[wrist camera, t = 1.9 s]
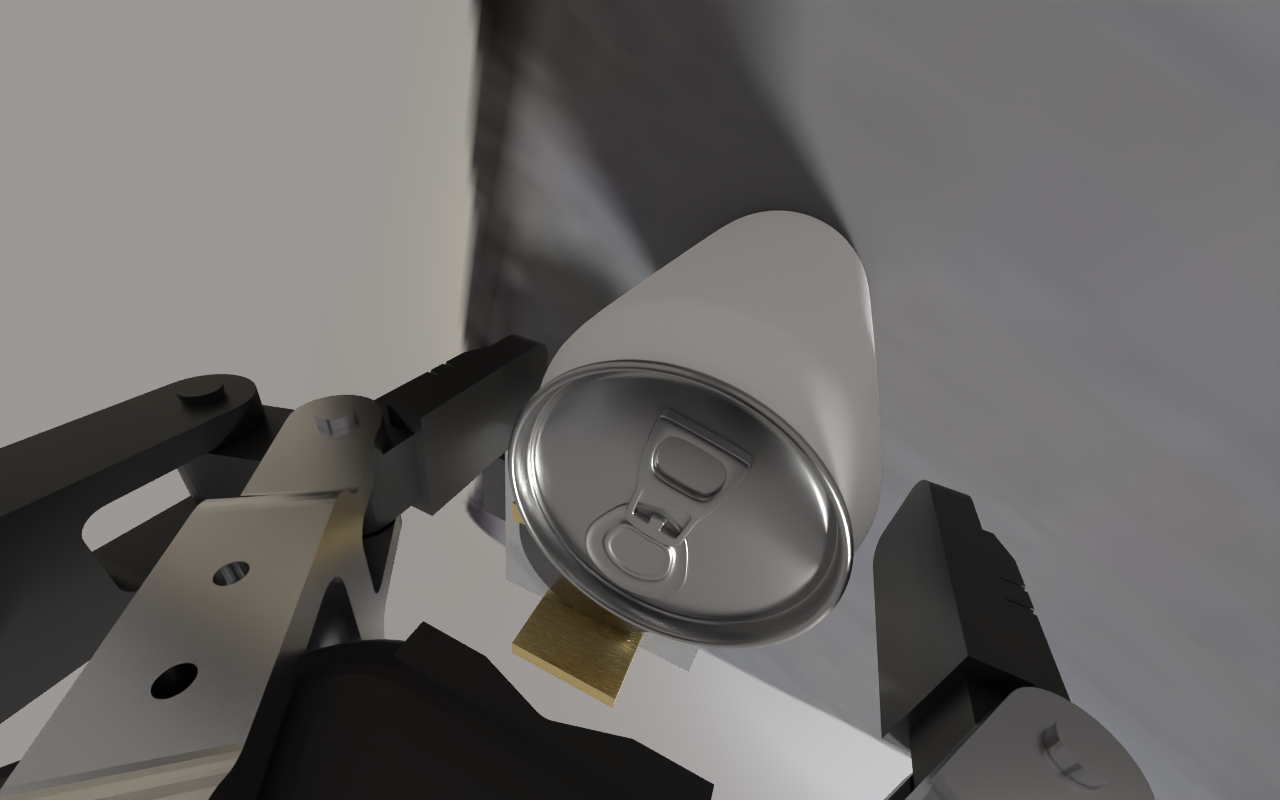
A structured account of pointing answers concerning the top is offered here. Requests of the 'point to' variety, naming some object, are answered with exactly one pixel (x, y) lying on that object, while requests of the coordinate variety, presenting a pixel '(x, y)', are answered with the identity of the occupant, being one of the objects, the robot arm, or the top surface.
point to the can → (713, 439)
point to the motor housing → (568, 611)
